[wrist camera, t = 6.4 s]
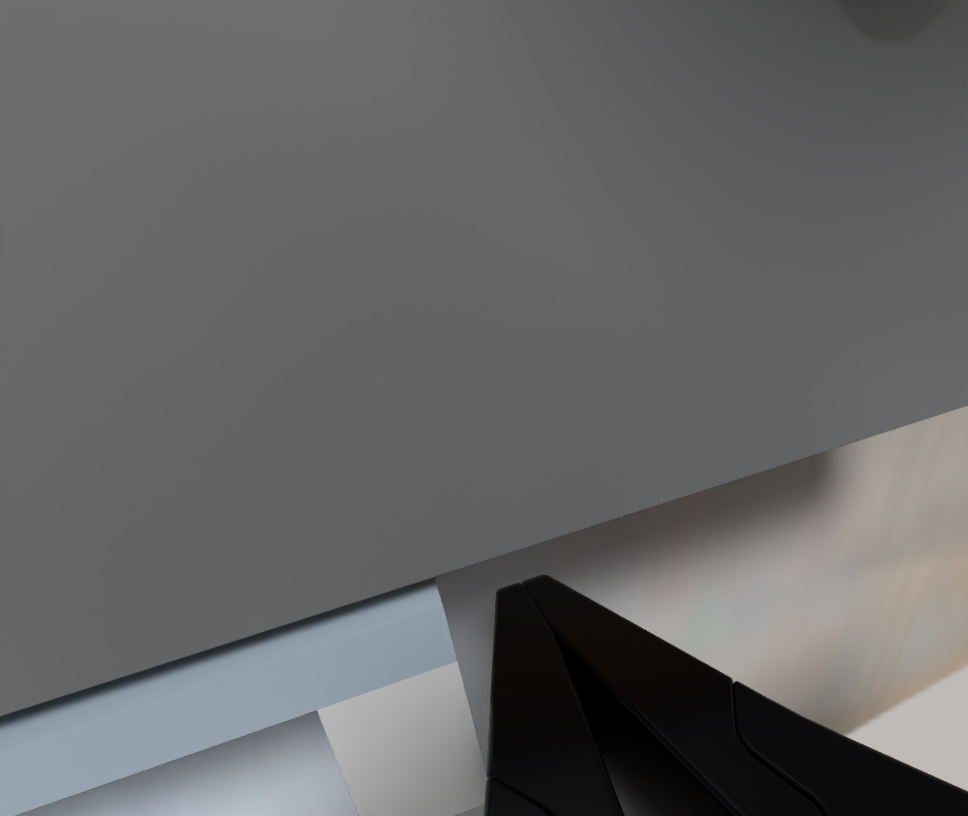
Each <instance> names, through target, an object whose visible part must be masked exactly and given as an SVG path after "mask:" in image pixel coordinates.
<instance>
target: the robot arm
mask: <svg viewBox="0 0 968 816" xmlns="http://www.w3.org/2000/svg"><path fill="white" fill-rule="evenodd" d="M486 776H487V780H486V786H485V804H484V816H968V791H966V790H963V789H961V788H959V787H957V786H954V785H952V784H950V783H948V782H946V781H943V780H941V779H939V778H937V777H934V776H932V775H930V774H928V773H926V772H923V771H921V770H919V769H916V768H914V767H912V766H910V765H908V764H905V763H903V762H901V761H899V760H896V759H894V758H892V757H890V756H888V755H885V754H883V753H881V752H879V751H876V750H874V749H872V748H870V747H868V746H865V745H863V744H861V743H859V742H856V741H854V740H852V739H850V738H848V737H846V736H843V735H841V734H839V733H837V732H835V731H833V730H831V729H829V728H827V727H824V726H822V725H820V724H818V723H816V722H814V721H812V720H810V719H807V718H805V717H803V716H801V715H799V714H798V713H796V712H794V711H792V710H790V709H788V708H786V707H784V706H782V705H780V704H779V703H777V702H775V701H773V700H771V699H769V698H767V697H765V696H763V695H762V694H760V693H758V692H756V691H754V690H753V689H751V688H749V687H747V686H745V685H744V684H742V683H740V682H738V681H735V682H734V683H733V680H732V678H731V677H729V676H727V675H725V674H724V673H722V672H720V671H718V670H716V669H715V668H713V667H711V666H709V665H707V664H706V663H704V662H702V661H700V660H698V659H697V658H695V657H693V656H691V655H690V654H688V653H686V652H684V651H682V650H681V649H679V648H677V647H675V646H673V645H672V644H670V643H668V642H666V641H664V640H663V639H661V638H659V637H657V636H656V635H654V634H652V633H650V632H648V631H647V630H645V629H643V628H641V627H639V626H638V625H636V624H634V623H632V622H631V621H629V620H627V619H625V618H623V617H622V616H620V615H618V614H616V613H614V612H613V611H611V610H609V609H607V608H605V607H604V606H602V605H600V604H598V603H597V602H595V601H593V600H591V599H589V598H588V597H586V596H584V595H582V594H580V593H579V592H577V591H575V590H573V589H571V588H570V587H568V586H566V585H564V584H563V583H561V582H559V581H557V580H555V579H554V578H552V577H550V576H548V575H539V576H536V577H533V578H530V579H527V580H524V581H523V582H522V583H515V584H512V585H509V586H506V587H503V588H500V589H498V591H497V592H496V603H495V622H494V641H493V660H492V679H491V698H490V717H489V736H488V755H487V774H486Z"/></svg>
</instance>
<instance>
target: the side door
mask: <svg viewBox="0 0 968 816" xmlns="http://www.w3.org/2000/svg"><path fill="white" fill-rule="evenodd" d="M316 710H317V712H318V714H319V717H320V719H321V722H322V724H323V727H324V729H325V732H326V735H327V737H328V740H329V742H330V745H331V747H332V750H333V752H334V755H335V757H336V760H337V762H338V765H339V767H340V770H341V772H342V775H343V777H344V780H345V783H346V785H347V788H348V790H349V793H350V795H351V798H352V800H353V803H354V805H355V808H356V810H357V813H358V815H359V816H456V815H458V814H461V813H463V812H466V811H468V810H471V809H473V808H476V807H479V806H481V805H484V804H485V786H486V780H487V776H486V774H487V772H486V769H485V765H484V761H483V757H482V753H481V749H480V746H479V742H478V738H477V734H476V730H475V726H474V723H473V719H472V715H471V711H470V707H469V703H468V700H467V696H466V692H465V688H464V684H463V680H462V677H461V673H460V669H459V665H458V661H457V657H456V654H455V650H454V646H453V642H452V638H451V634H450V631H449V627H448V623H447V619H446V615H445V611H444V607H443V604H442V601H441V598H440V595H439V591H438V588H437V585H436V582H435V579H434V577H432V578H429V579H426V580H423V581H420V582H417V583H414V584H411V585H407V586H404V587H401V588H398V589H395V590H392V591H389V592H386V593H383V594H379V595H376V596H373V597H370V598H367V599H364V600H361V601H358V602H355V603H351V604H348V605H345V606H342V607H339V608H336V609H333V610H330V611H327V612H323V613H320V614H317V615H314V616H311V617H308V618H305V619H302V620H299V621H295V622H292V623H289V624H286V625H283V626H280V627H277V628H274V629H270V630H267V631H264V632H261V633H258V634H255V635H252V636H249V637H246V638H242V639H239V640H236V641H233V642H230V643H227V644H224V645H221V646H218V647H214V648H211V649H208V650H205V651H202V652H199V653H196V654H193V655H190V656H186V657H183V658H180V659H177V660H174V661H171V662H168V663H165V664H162V665H158V666H155V667H152V668H149V669H146V670H143V671H140V672H137V673H134V674H130V675H127V676H124V677H121V678H118V679H115V680H112V681H109V682H105V683H102V684H99V685H96V686H93V687H90V688H87V689H84V690H81V691H77V692H74V693H71V694H68V695H65V696H62V697H59V698H56V699H53V700H49V701H46V702H43V703H40V704H37V705H34V706H31V707H28V708H25V709H21V710H18V711H15V712H12V713H9V714H6V715H3V716H0V816H15V815H18V814H21V813H24V812H27V811H30V810H32V809H35V808H38V807H41V806H44V805H47V804H50V803H53V802H55V801H58V800H61V799H64V798H67V797H70V796H73V795H75V794H78V793H81V792H84V791H87V790H90V789H93V788H96V787H98V786H101V785H104V784H107V783H110V782H113V781H116V780H118V779H121V778H124V777H127V776H130V775H133V774H136V773H138V772H141V771H144V770H147V769H150V768H153V767H156V766H159V765H161V764H164V763H167V762H170V761H173V760H176V759H179V758H181V757H184V756H187V755H190V754H193V753H196V752H199V751H201V750H204V749H207V748H210V747H213V746H216V745H219V744H222V743H224V742H227V741H230V740H233V739H236V738H239V737H242V736H244V735H247V734H250V733H253V732H256V731H259V730H262V729H264V728H267V727H270V726H273V725H276V724H279V723H282V722H285V721H287V720H290V719H293V718H296V717H299V716H302V715H305V714H307V713H310V712H313V711H316Z"/></svg>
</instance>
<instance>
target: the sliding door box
mask: <svg viewBox="0 0 968 816" xmlns="http://www.w3.org/2000/svg"><path fill="white" fill-rule="evenodd" d="M965 406H968V0H0V716H3V715H6V714H9V713H12V712H15V711H18V710H21V709H25V708H28V707H31V706H34V705H37V704H40V703H43V702H46V701H49V700H53V699H56V698H59V697H62V696H65V695H68V694H71V693H74V692H77V691H81V690H84V689H87V688H90V687H93V686H96V685H99V684H102V683H105V682H109V681H112V680H115V679H118V678H121V677H124V676H127V675H130V674H134V673H137V672H140V671H143V670H146V669H149V668H152V667H155V666H158V665H162V664H165V663H168V662H171V661H174V660H177V659H180V658H183V657H186V656H190V655H193V654H196V653H199V652H202V651H205V650H208V649H211V648H214V647H218V646H221V645H224V644H227V643H230V642H233V641H236V640H239V639H242V638H246V637H249V636H252V635H255V634H258V633H261V632H264V631H267V630H270V629H274V628H277V627H280V626H283V625H286V624H289V623H292V622H295V621H299V620H302V619H305V618H308V617H311V616H314V615H317V614H320V613H323V612H327V611H330V610H333V609H336V608H339V607H342V606H345V605H348V604H351V603H355V602H358V601H361V600H364V599H367V598H370V597H373V596H376V595H379V594H383V593H386V592H389V591H392V590H395V589H398V588H401V587H404V586H407V585H411V584H414V583H417V582H420V581H423V580H426V579H429V578H432V577H435V576H439V575H442V574H445V573H448V572H451V571H454V570H457V569H460V568H463V567H467V566H470V565H473V564H476V563H479V562H482V561H485V560H488V559H492V558H495V557H498V556H501V555H504V554H507V553H510V552H513V551H516V550H520V549H523V548H526V547H529V546H532V545H535V544H538V543H541V542H544V541H548V540H551V539H554V538H557V537H560V536H563V535H566V534H569V533H572V532H576V531H579V530H582V529H585V528H588V527H591V526H594V525H597V524H600V523H604V522H607V521H610V520H613V519H616V518H619V517H622V516H625V515H628V514H632V513H635V512H638V511H641V510H644V509H647V508H650V507H653V506H657V505H660V504H663V503H666V502H669V501H672V500H675V499H678V498H681V497H685V496H688V495H691V494H694V493H697V492H700V491H703V490H706V489H709V488H713V487H716V486H719V485H722V484H725V483H728V482H731V481H734V480H737V479H741V478H744V477H747V476H750V475H753V474H756V473H759V472H762V471H765V470H769V469H772V468H775V467H778V466H781V465H784V464H787V463H790V462H793V461H797V460H800V459H803V458H806V457H809V456H812V455H815V454H818V453H822V452H825V451H828V450H831V449H834V448H837V447H840V446H843V445H846V444H850V443H853V442H856V441H859V440H862V439H865V438H868V437H871V436H874V435H878V434H881V433H884V432H887V431H890V430H893V429H896V428H899V427H902V426H906V425H909V424H912V423H915V422H918V421H921V420H924V419H927V418H930V417H934V416H937V415H940V414H943V413H946V412H949V411H952V410H955V409H958V408H962V407H965Z"/></svg>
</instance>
